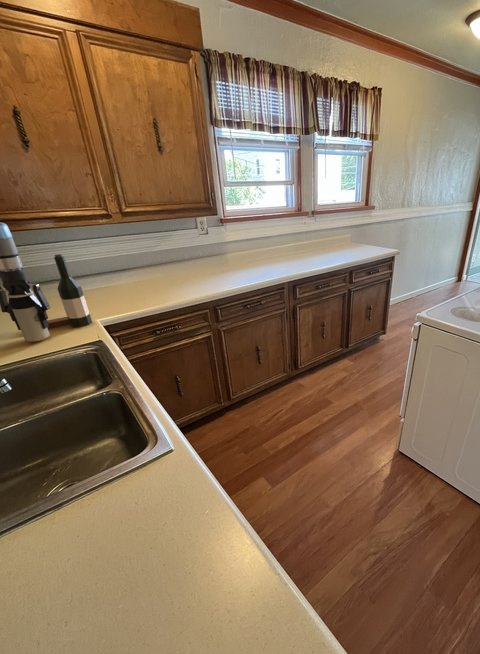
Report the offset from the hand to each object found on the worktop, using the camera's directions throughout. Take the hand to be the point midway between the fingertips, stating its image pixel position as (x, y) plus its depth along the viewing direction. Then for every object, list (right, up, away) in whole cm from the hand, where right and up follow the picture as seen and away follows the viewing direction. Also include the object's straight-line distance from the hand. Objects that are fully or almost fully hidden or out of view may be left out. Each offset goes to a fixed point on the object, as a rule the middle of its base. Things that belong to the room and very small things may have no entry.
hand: (33, 327), depth 126 cm
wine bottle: (+7, +3, +18) cm, 19 cm away
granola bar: (-4, +2, +16) cm, 17 cm away
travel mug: (0, -4, +2) cm, 4 cm away
